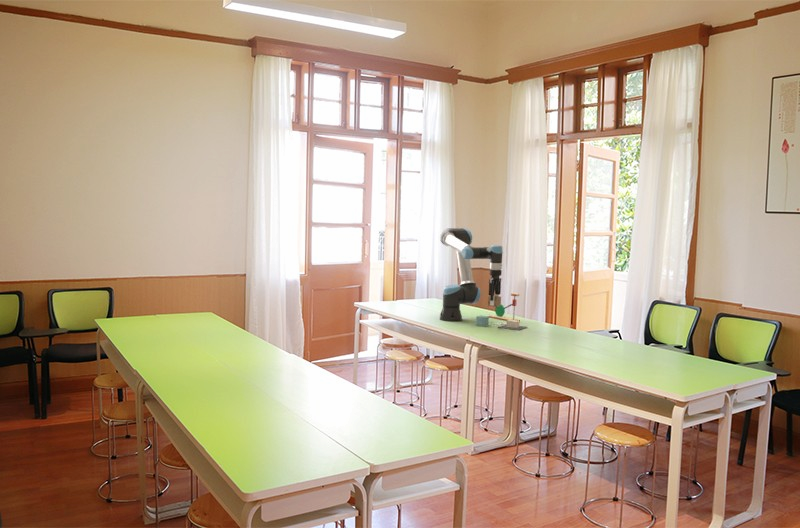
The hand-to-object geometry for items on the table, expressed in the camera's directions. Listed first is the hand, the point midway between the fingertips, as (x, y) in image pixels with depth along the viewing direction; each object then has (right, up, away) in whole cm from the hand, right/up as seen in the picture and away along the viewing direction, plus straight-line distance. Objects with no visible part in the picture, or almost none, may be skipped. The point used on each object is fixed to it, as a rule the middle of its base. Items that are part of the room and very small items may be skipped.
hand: (494, 304), depth 428 cm
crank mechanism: (+11, -12, +31) cm, 36 cm away
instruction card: (+7, -14, +10) cm, 19 cm away
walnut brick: (0, -1, 0) cm, 1 cm away
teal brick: (-7, -14, +5) cm, 16 cm away
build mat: (+12, -15, 0) cm, 19 cm away
